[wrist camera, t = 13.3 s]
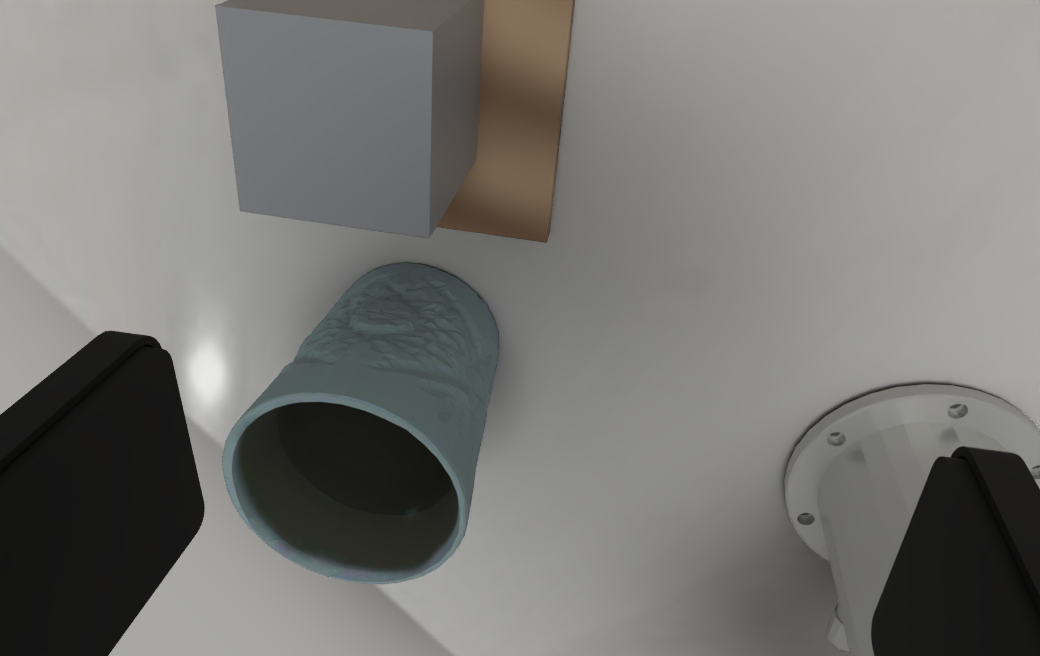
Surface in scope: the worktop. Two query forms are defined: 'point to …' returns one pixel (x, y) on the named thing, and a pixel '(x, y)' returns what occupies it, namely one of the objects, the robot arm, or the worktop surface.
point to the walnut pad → (517, 121)
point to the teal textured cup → (372, 431)
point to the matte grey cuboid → (352, 107)
